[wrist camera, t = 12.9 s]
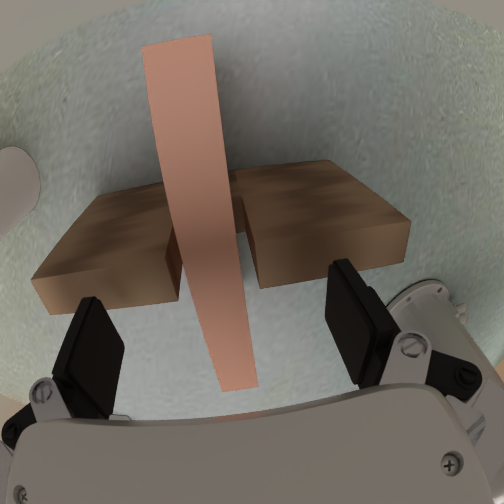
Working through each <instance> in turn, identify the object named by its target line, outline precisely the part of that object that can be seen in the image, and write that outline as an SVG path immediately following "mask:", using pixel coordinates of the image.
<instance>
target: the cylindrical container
mask: <svg viewBox="0 0 504 504" xmlns="http://www.w3.org/2000/svg"><path fill="white" fill-rule="evenodd" d="M39 194H40V179H39V173H38V170H37V167H36V165H35V163H34V161H33V160H32V158H31V157H30V155H28V154H27V153H26V152H25V151H24V150H22V149H21V148H18V147H15V146H13V147H6V148H4V149H1V150H0V241H1V240H2V239H3V238H4V237H5V236H6V235H7V234H8V233H9V232H10V231H11V230H12V229H13V228H14V227H15V226H16V225H17V224H18V223H19V222H20V221H21V220H22V219H23V218H24V217H26V216H27V215H28V214H29V213H30V212H31V211H32V210H33V209H34V207H35V206H36V204H37V202H38V198H39Z"/></svg>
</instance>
